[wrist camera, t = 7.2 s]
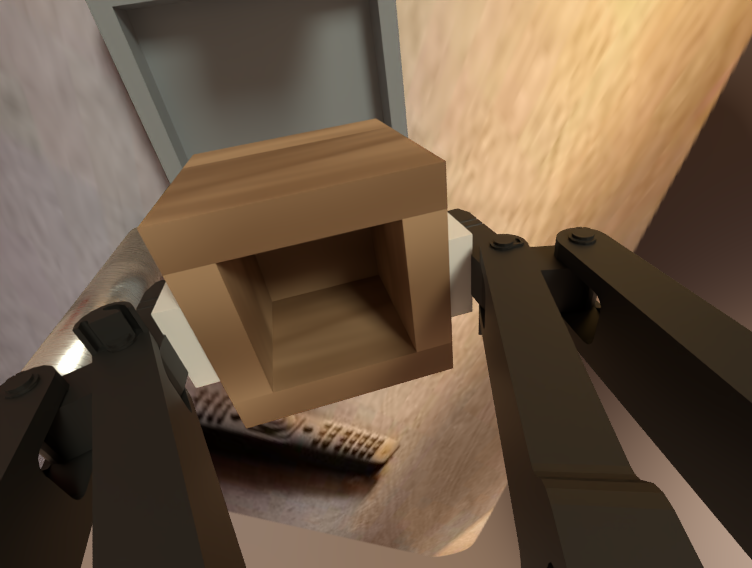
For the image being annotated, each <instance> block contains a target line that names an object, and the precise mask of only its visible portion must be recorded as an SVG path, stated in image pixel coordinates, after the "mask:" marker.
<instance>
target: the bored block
mask: <svg viewBox="0 0 752 568" xmlns="http://www.w3.org/2000/svg"><path fill="white" fill-rule="evenodd" d="M137 230H138V232H139V234H140V236H141V237H142V239H143V241H144V243H145V245H146V247H147V248H148V250H149V252H150V254H151V256H152V257H153V259H154V261H155V263H156V265H157V267H158V268H159V270H160V272H161V274H162V276H163V278H164V279H165V281H166V283H167V285H168V287H169V288H170V290H171V292H172V294H173V296H174V298H175V299H176V301H177V303H178V305H179V307H180V308H181V310H182V312H183V314H184V316H185V318H186V319H187V321H188V323H189V325H190V327H191V329H192V330H193V332H194V334H195V336H196V338H197V339H198V341H199V343H200V345H201V347H202V349H203V350H204V352H205V354H206V356H207V358H208V359H209V361H210V363H211V365H212V367H213V369H214V370H215V372H216V374H217V376H218V378H219V380H220V381H221V383H222V385H223V387H224V389H225V390H226V392H227V394H228V396H229V398H230V400H231V401H232V403H233V405H234V407H235V409H236V411H237V412H238V414H239V416H240V418H241V420H242V421H243V423H244V425H245V427H246V428H250V427H253V426H256V425H260V424H263V423H267V422H270V421H274V420H277V419H280V418H284V417H287V416H291V415H294V414H298V413H301V412H304V411H308V410H311V409H315V408H318V407H321V406H325V405H328V404H332V403H335V402H339V401H342V400H345V399H349V398H352V397H356V396H359V395H363V394H366V393H369V392H373V391H376V390H380V389H383V388H387V387H390V386H393V385H397V384H400V383H404V382H407V381H411V380H414V379H417V378H421V377H424V376H428V375H431V374H435V373H438V372H441V371H445V370H448V369H452V368H453V352H452V324H451V296H450V267H449V239H448V211H447V182H446V161H445V160H443V159H441V158H440V157H438V156H436V155H435V154H433V153H432V152H430V151H428V150H427V149H425V148H423V147H422V146H420V145H418V144H417V143H415V142H414V141H412V140H410V139H409V138H407V137H405V136H404V135H402V134H400V133H399V132H397V131H396V130H394V129H392V128H391V127H389V126H387V125H386V124H384V123H383V122H381V121H379V120H378V119H376V118H375V119H370V120H365V121H360V122H355V123H350V124H345V125H340V126H335V127H330V128H325V129H320V130H315V131H310V132H305V133H300V134H294V135H289V136H284V137H279V138H274V139H269V140H264V141H259V142H254V143H249V144H244V145H239V146H234V147H229V148H224V149H219V150H214V151H209V152H204V153H199V154H194V155H192V157H191V158H190V159H189V161H188V162H187V163H186V165H185V166H184V167H183V169H182V170H181V171H180V173H179V174H178V175H177V176H176V178H175V179H174V180H173V182H172V183H171V184H170V186H169V187H168V188H167V190H166V191H165V192H164V193H163V195H162V196H161V197H160V199H159V200H158V201H157V203H156V204H155V205H154V207H153V208H152V209H151V211H150V212H149V213H148V214H147V216H146V217H145V218H144V220H143V221H142V222H141V224H140V225H139V226H138V228H137Z"/></svg>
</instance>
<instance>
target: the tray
mask: <svg viewBox="0 0 752 568" xmlns="http://www.w3.org/2000/svg"><path fill="white" fill-rule="evenodd" d="M85 1H86V3H87V5H88V7H89V9H90V11H91V14H92V16H93V18H94V20H95V22H96V24H97V27H98V29H99V31H100V33H101V35H102V37H103V40H104V42H105V44H106V46H107V48H108V50H109V52H110V55H111V57H112V59H113V61H114V63H115V65H116V68H117V70H118V72H119V74H120V76H121V78H122V81H123V83H124V85H125V87H126V89H127V91H128V94H129V96H130V98H131V100H132V102H133V104H134V106H135V109H136V111H137V113H138V115H139V117H140V119H141V122H142V124H143V126H144V128H145V130H146V132H147V135H148V137H149V139H150V141H151V143H152V145H153V148H154V150H155V152H156V154H157V156H158V158H159V160H160V163H161V165H162V167H163V169H164V171H165V173H166V176H167V178H168V180H169V182H170V184H171V183H172V182H173V180H174V179H175V178H176V176H177V175H178V174H179V173H180V171H181V170H182V169H183V167H184V166H185V165H186V163H187V162H188V161H189V159H190V158H191V157H192V155H194V154H199V153H204V152H209V151H214V150H219V149H224V148H229V147H234V146H239V145H244V144H249V143H254V142H259V141H264V140H269V139H274V138H279V137H284V136H289V135H294V134H300V133H305V132H310V131H315V130H320V129H325V128H330V127H335V126H340V125H345V124H350V123H355V122H360V121H365V120H370V119H375V118H376V119H378V120H379V121H381V122H383V123H384V124H386V125H387V126H389V127H391V128H392V129H394V130H396V131H397V132H399V133H400V134H402V135H404V136H405V137H407V138H408V132H407V120H406V109H405V98H404V87H403V76H402V65H401V54H400V42H399V31H398V20H397V9H396V0H85Z"/></svg>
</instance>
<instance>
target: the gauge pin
mask: <svg viewBox="0 0 752 568" xmlns="http://www.w3.org/2000/svg"><path fill="white" fill-rule="evenodd" d="M137 228H138V227H136V228H134V229H132V230H131V231H130V232H129V233H128V234H127V236H126V237H125V238H124V239H123V241H122V242H121V243H120V245H119V246H118V247H117V248H116V250H115V251H114V252H113V254H112V255H111V256H110V257H109V259H108V260H107V261H106V263H105V264H104V265H103V267H102V268H101V269H100V270H99V272H98V273H97V274H96V276H95V277H94V278H93V279H92V281H91V282H90V283H89V285H88V286H87V287H86V288H85V290H84V291H83V292H82V294H81V295H80V296H79V297H78V299H77V300H76V301H75V303H74V304H73V305H72V306H71V308H70V309H69V310H68V312H67V313H66V314H65V315H64V317H63V318H62V319H61V321H60V322H59V323H58V325H57V326H56V327H55V328H54V330H53V331H52V332H51V334H50V335H49V336H48V337H47V339H46V340H45V341H44V343H43V344H42V345H41V346H40V348H39V349H38V350H37V352H36V353H35V354H34V355H33V357H32V358H31V359H30V361H29V362H28V363H27V364H26V366H25V367H24V368H23V370H22V371H26V370H28V369H31V368H33V367H38V366H42V365H50V366H53V367H54V368H55V369H56V370H57V372H58V373H59V374H60V375H61V376H63V375H65V374H67V373H70V372H72V371H74V370H77V369H79V368H81V367H83V366H86V365H88V364H90V363H92V355H91V354H90V353H89V351H88V350H87V349H86V347H85V346H84V345H83V344H82V342H81V341H80V340H79V339H78V337H77V336H76V335H75V334H74V332H73V331H72V330H73V327H74V325H75V324H76V323H77V322H78V321H79V320H80V319H81V318H82V317H84V316H85V315H87V314H88V313H90V312H91V311H93V310H95V309H97V308H99V307H102V306H104V305H107V304H110V303H114V302H121V301H125V302H130V303H131V304H132V305H133V306H134V308H135V310H136V308H137V306H138V304H139V303H140V300H141V298H142V296H143V295H144V293H145V291H146V290H147V289H149V288H150V287H151V286H152V285H153V284H154V283H155V282H158V281H159V280H160V278H161V276H162V274H161V272H160V270H159V268H158V267H157V265H156V263H155V261H154V259H153V257H152V256H151V254H150V252H149V250H148V248H147V247H146V245H145V243H144V241H143V239H142V237H141V236H140V234H139V232H138V230H137ZM22 371H21V372H22Z"/></svg>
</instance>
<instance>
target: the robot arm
mask: <svg viewBox="0 0 752 568" xmlns="http://www.w3.org/2000/svg"><path fill="white" fill-rule="evenodd" d="M448 239H449V267H450V296H451V317H454V316H457V315H461V314H465V313H468V312H472V296H473V297H474V299H475V300H476V301H477V302H478V303H479V335H482V337H483V342H484V348H485V354H486V360H487V365H488V371H489V377H490V383H491V388H492V394H493V400H494V405H495V411H496V417H497V423H498V428H499V434H500V440H501V446H502V451H503V457H504V463H505V468H506V474H507V480H508V485H509V491H510V497H511V503H512V509H513V514H514V520H515V526H516V531H517V537H518V543H519V550H520V558H521V568H704V567H703V565H702V563H701V561H700V559H699V558H698V555H697V553H696V552H695V550H694V548H693V546H692V544H691V542H690V540H689V538H688V536H687V534H686V532H685V530H684V528H683V526H682V524H681V522H680V520H679V518H678V516H677V514H676V512H675V510H674V509H673V507H672V506H671V504H670V502H669V501H668V499H667V498H666V496H665V494H664V493H663V492H662V491H661V490H660V489H659V488H658V487H657V486H656V485H655V484H654V483H651V482H647V481H643V480H640V479H639V478H638V477H637V476H636V475H635V474H634V472H633V470H632V468H631V466H630V464H629V462H628V460H627V458H626V455H625V453H624V451H623V449H622V447H621V445H620V442H619V440H618V438H617V436H616V434H615V432H614V429H613V427H612V425H611V423H610V421H609V418H608V416H607V414H606V412H605V410H604V408H603V405H602V403H601V401H600V399H599V397H598V395H597V392H596V390H595V388H594V386H593V384H592V382H591V379H590V377H589V375H588V373H587V371H586V368H585V367H584V364H583V362H582V360H581V358H580V356H579V353H580V355H581V356H582V357H583V358H584V359H585V360H586V362H587V363H588V364H589V365H590V367H591V368H592V369H593V370H594V371H595V372H596V374H597V375H598V376H599V377H600V378H601V380H602V381H603V382H604V383H605V384H606V386H607V387H608V388H609V389H610V390H611V392H612V393H613V394H614V395H615V397H616V398H617V399H618V400H619V401H620V403H621V404H622V405H623V406H624V407H625V408H626V410H627V411H628V412H629V413H630V415H631V416H632V417H633V418H634V419H635V420H636V422H637V423H638V424H639V425H640V426H641V427H642V429H643V430H644V431H645V432H646V434H647V435H648V436H649V437H650V438H651V439H652V441H653V442H654V443H655V444H656V446H657V447H658V448H659V449H660V450H661V452H662V453H663V454H664V455H665V456H666V458H667V459H668V460H669V461H670V462H671V464H672V465H673V466H674V467H675V468H676V470H677V471H678V472H679V473H680V474H681V476H682V477H683V478H684V479H685V480H686V482H687V483H688V484H689V485H690V486H691V488H692V489H693V490H694V491H695V492H696V494H697V495H698V496H699V497H700V498H701V500H702V501H703V502H704V503H705V504H706V505H707V507H708V508H709V509H710V510H711V512H712V513H713V514H714V515H715V516H716V518H718V520H719V521H720V522H721V523H722V525H723V526H724V527H725V528H726V529H727V531H728V532H729V533H730V534H731V535H732V537H733V538H734V539H735V540H736V541H737V543H738V544H739V545H740V546H741V547H742V549H743V550H744V551H745V552H746V553H747V555H748V556H749V557H750V558H751V559H752V332H751V331H750V330H748V329H747V328H745V327H744V326H742V325H741V324H739V323H738V322H736V321H735V320H733V319H732V318H730V317H729V316H727V315H726V314H724V313H723V312H721V311H720V310H718V309H717V308H715V307H714V306H712V305H711V304H709V303H708V302H706V301H705V300H703V299H702V298H700V297H699V296H697V295H696V294H694V293H693V292H691V291H690V290H688V289H687V288H685V287H684V286H682V285H681V284H679V283H678V282H676V281H675V280H673V279H672V278H670V277H669V276H667V275H666V274H664V273H662V272H661V271H660V270H658V269H657V268H655V267H654V266H652V265H651V264H649V263H648V262H646V261H645V260H643V259H642V258H640V257H639V256H637V255H636V254H634V253H633V252H631V251H630V250H628V249H627V248H625V247H624V246H622V245H621V244H619V243H618V242H616V241H615V240H613V239H612V238H610V237H609V236H607V235H606V234H604V233H602V232H600V231H598V230H594V229H590V228H586V227H583V228H582V227H576V228H569V229H566V230H562V231H561V232H559V233H558V234H557V237H556V243H555V246H541V247H529V245H528V243H527V242H526V241H525V239H523V238H521V237H519V236H516V235H510V234H496V233H495V232H493V231H492V230H491V229H490V228H488V227H487V226H486V225H485V224H482V222H481V221H480V220H478V219H476V217H474V216H473V215H472V214H471V213H469V212H467V211H464V210H461V209H454V210H450V211H448ZM597 296H598V298H599V300H600V303H599V302H598V301H596V298H597ZM72 331H73V332H74V334H75V335H76V336H77V337H78V339H79V340H80V341H81V342H82V344H83V345H84V346H85V347H86V349H87V350H88V351H89V353H90V354H91V355H92V363H90V364H88V365H86V366H83V367H81V368H79V369H77V370H74V371H72V372H70V373H67V374H65V375H63V376H61V375H60V374H59V373H58V372H57V370H56V369H55V368H54V367H53V366H50V365H42V366H38V367H33V368H31V369H28V370H26V371H22V372H20V373H18V374H16V376H12V377H11V378H9V379H7V380H6V382H5V383H3V384H2V385H1V386H0V568H81V564H82V561H83V557H84V553H85V549H86V546H87V542H88V538H89V534H90V531H91V527H92V523H93V568H246V566H245V563H244V559H243V556H242V553H241V550H240V547H239V544H238V541H237V538H236V534H235V531H234V528H233V525H232V522H231V519H230V516H229V513H228V510H227V506H226V503H225V500H224V497H223V494H222V491H221V488H220V485H219V482H218V478H217V475H216V472H215V469H214V466H213V463H212V460H211V457H210V454H209V451H208V447H207V444H206V441H205V438H204V435H203V432H202V429H201V426H200V423H199V419H198V416H197V413H196V410H195V407H194V404H193V401H192V398H191V396H190V394H189V393H188V391H187V390H186V388H185V383H186V379H187V376H189V377H190V379H191V381H192V382H193V384H194V385H195V387H196V388H198V387H202V386H205V385H209V384H212V383H216V382H220V380H219V378H218V376H217V374H216V372H215V370H214V369H213V367H212V365H211V363H210V361H209V359H208V358H207V356H206V354H205V352H204V350H203V349H202V347H201V345H200V343H199V341H198V339H197V338H196V336H195V334H194V332H193V330H192V329H191V327H190V325H189V323H188V321H187V319H186V318H185V316H184V314H183V312H182V310H181V308H180V307H179V305H178V303H177V301H176V299H175V298H174V296H173V294H172V292H171V290H170V288H169V287H168V285H167V283H166V281H165V280H162V281H158V282H155V283H154V284H153V285H152V286H151V287H150V288H149V289H147V290H146V291H145V293H144V295H143V296H142V298H141V300H140V303H139V304H138V306H137V308H136V310H135V308H134V306H133V305H132V304H131V303H130V302H125V301H121V302H114V303H110V304H107V305H104V306H102V307H99V308H97V309H95V310H93V311H91V312H90V313H88V314H87V315H85V316H84V317H82V318H81V319H80V320H79V321H78V322H77V323H76V324H75V325H74V327H73V330H72ZM578 352H579V353H578ZM39 454H40V455H41V456H43V457H44V458H45V461H44V463H43V466H42V468H41V469H40V467H39V462H38V456H39Z"/></svg>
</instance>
